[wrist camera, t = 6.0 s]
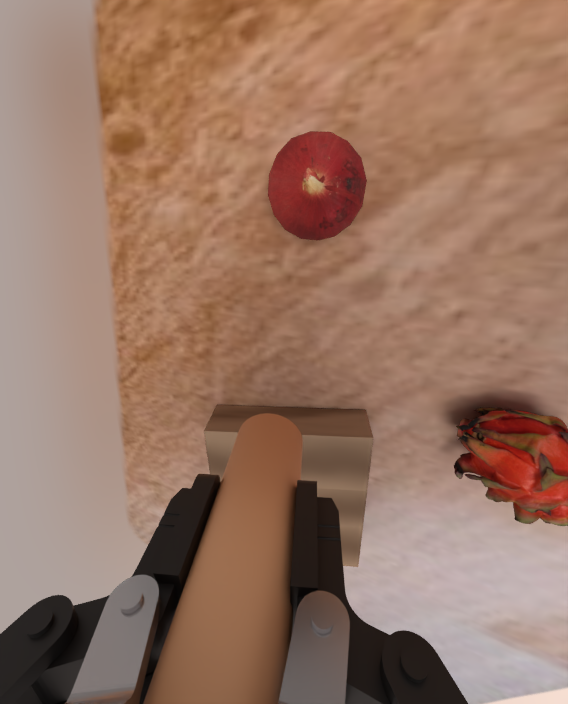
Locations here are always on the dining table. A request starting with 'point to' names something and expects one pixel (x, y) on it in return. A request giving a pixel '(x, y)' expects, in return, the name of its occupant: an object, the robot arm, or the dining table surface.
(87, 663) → the robot arm
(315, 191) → the onion
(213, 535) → the peg
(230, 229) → the dining table surface
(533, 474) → the dragon fruit
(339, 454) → the hole block
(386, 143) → the dining table surface
